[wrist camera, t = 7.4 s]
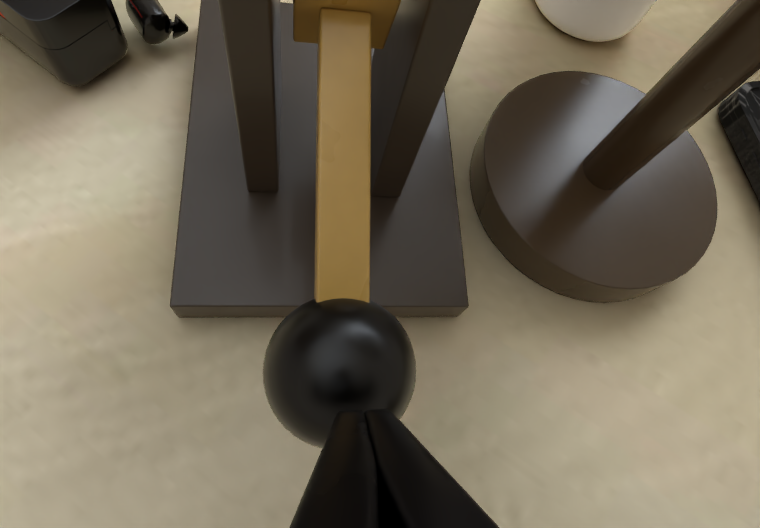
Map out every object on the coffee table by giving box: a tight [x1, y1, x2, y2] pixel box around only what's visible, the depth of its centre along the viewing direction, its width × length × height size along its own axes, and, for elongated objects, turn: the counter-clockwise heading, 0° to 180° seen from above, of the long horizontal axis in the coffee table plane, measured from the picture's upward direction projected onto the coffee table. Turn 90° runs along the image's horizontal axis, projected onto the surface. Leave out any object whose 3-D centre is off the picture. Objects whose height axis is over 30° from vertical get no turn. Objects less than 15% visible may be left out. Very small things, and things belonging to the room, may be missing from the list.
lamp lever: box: [263, 0, 416, 448], centre depth 11 cm, size 12×3×3 cm, turn 3°
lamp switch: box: [170, 0, 481, 317], centre depth 14 cm, size 12×9×10 cm
